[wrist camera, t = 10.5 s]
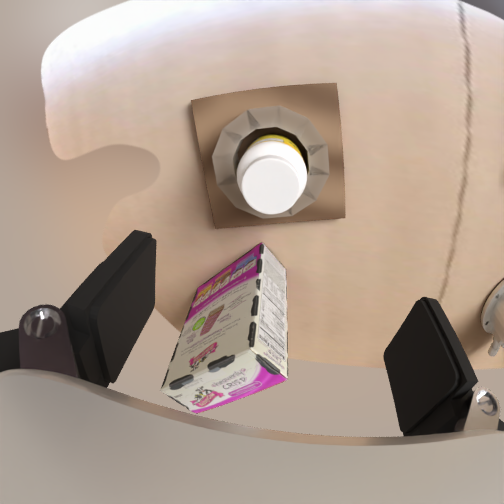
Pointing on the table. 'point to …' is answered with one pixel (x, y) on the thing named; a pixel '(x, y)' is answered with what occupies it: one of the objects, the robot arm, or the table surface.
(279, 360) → the candy bar box
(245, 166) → the supplement bottle
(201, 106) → the hub block
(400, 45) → the table surface
